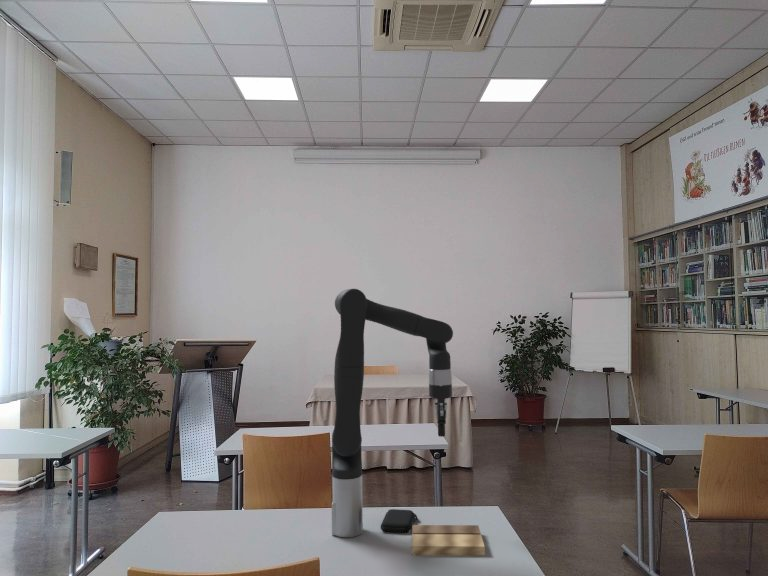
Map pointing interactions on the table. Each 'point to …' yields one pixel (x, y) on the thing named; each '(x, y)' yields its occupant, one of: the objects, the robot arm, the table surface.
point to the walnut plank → (446, 529)
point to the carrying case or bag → (398, 521)
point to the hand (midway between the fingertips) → (441, 435)
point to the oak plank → (447, 544)
